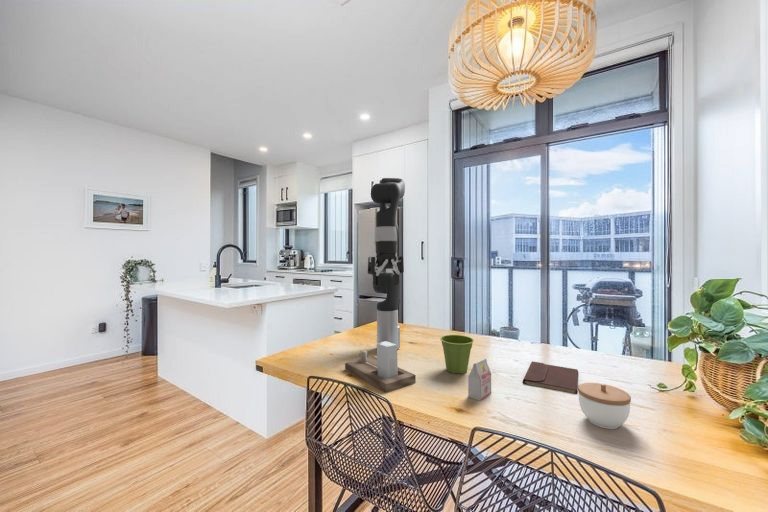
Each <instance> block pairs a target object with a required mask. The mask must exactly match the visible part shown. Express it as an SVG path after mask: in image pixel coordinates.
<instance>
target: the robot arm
mask: <svg viewBox="0 0 768 512" xmlns="http://www.w3.org/2000/svg"><path fill="white" fill-rule="evenodd" d="M405 192H406V183H405V181H404V179H402V178H398V177H397V178H396V177H383V178H381V180H380V183H375V184H373V185H372V187H371V189H370V199H371V201H372V202H373V203H375V204H379V210H378V211H377V212H376V214H375V216H376V217H375V253H376V255H375V256H368V258H367V259H368V260H367V274H368V275H371V276H372V286H373V287H372V288H373V291H374V292H375V293H377V294H385V295H386V298H385V300H382V301H381V300H380V301H378V302H377V303H376V344H377V343H380V342H384V341H387V342H390V343H393V344H396V345H397V349H398V348H400V349H401V329H400V328H401V327H400V326H399V305H400V304H399V303H400V291H401V290H400V289H401V282H400V274H403V273H404V272H405V271H404V267H405V266H404V257H403V256H402V255H400V256H398V255H397V252H398V250H397V249H398V244H399V232H400V231H399V230H400V229H399V225H398V223H397V212H398V206H399V202H400V200H401V199H403V198H404V196H405ZM388 204H389V206H388ZM387 270H391V272H386V271H387ZM398 350H399V349H398Z"/></svg>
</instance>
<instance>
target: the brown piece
mask: <svg viewBox="0 0 768 512" xmlns="http://www.w3.org/2000/svg"><path fill="white" fill-rule="evenodd" d="M344 365H345V366H344V368H345V369H344V370H345V371H347V372H349V373H350V374H353V375H354V376H356V377H358V378H359V379H361V380H363V381H364V382H365V383H368V384H370V385H371V386H374V387H376V388H377V389H379V390H380V391H383V392H384V393H390V392H392V391H395V390H397V389H401V388H403V387H407V386H410V385H413V384H415V383H416V382H417V381H416V374H414V373H412V372H410V371H407V370H405V369H403V368H400V367H398V376H395V377H392V378H389V379H383V378H381V377H379V376H378V368H377V356H376V357H375V356H374V355H371V356H368V350H360V358H359V359H354V360H350V361H346V362H345V363H344Z"/></svg>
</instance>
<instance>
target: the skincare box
mask: <svg viewBox="0 0 768 512" xmlns="http://www.w3.org/2000/svg"><path fill="white" fill-rule="evenodd" d="M376 358H377V368H378V376H379V377H381V378H383V379H389V378H392V377H395V376H398V366H399V365H398V350H397V345H396V344H393V343H390V342H387V341H384V342H380V343H377V342H376Z"/></svg>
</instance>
